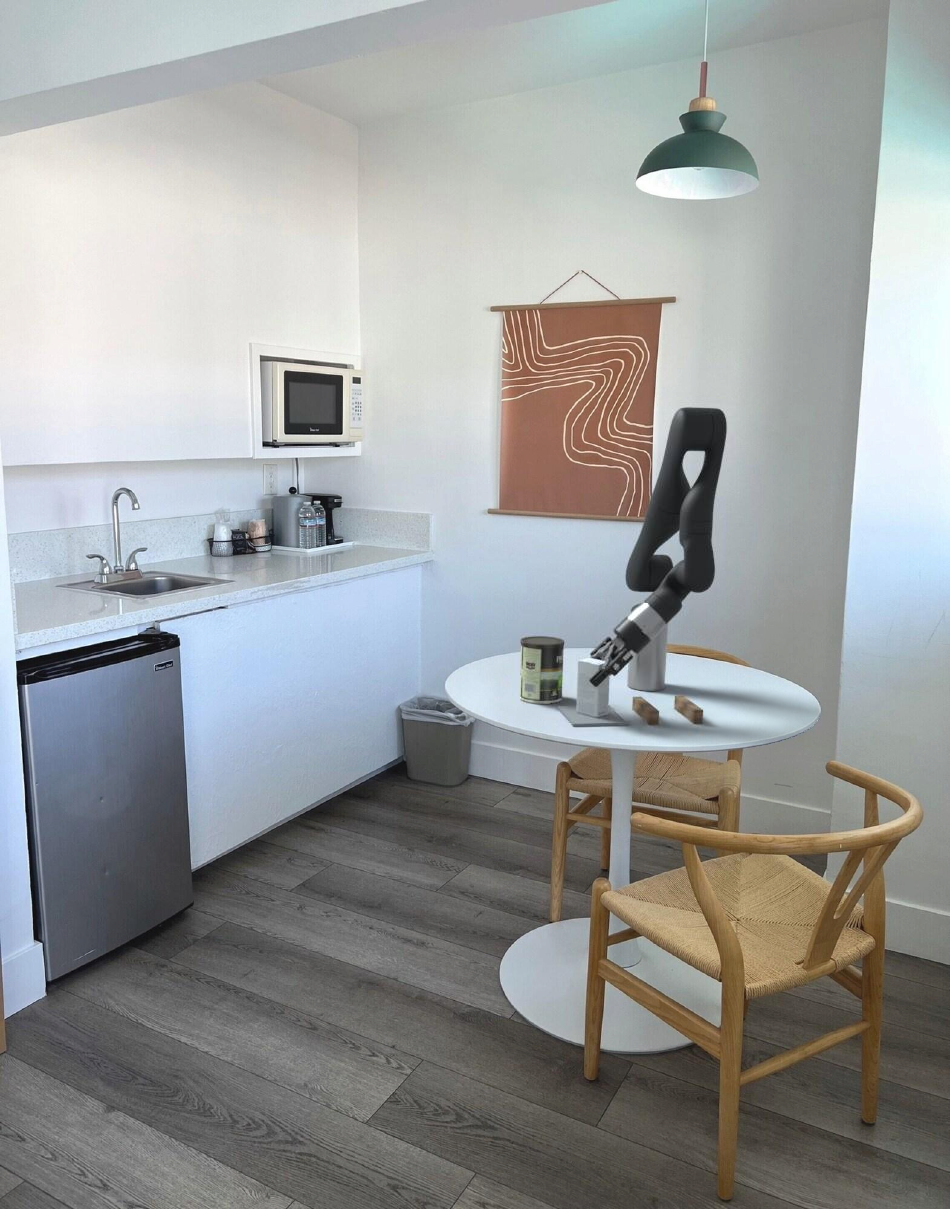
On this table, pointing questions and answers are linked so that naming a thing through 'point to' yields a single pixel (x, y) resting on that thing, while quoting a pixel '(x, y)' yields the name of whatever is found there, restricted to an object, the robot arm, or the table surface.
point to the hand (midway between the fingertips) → (587, 679)
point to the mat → (591, 717)
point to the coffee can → (541, 669)
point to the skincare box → (591, 689)
